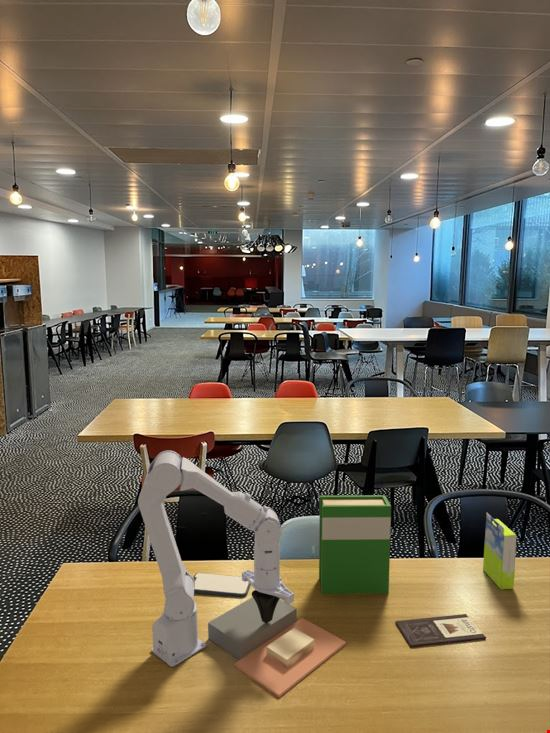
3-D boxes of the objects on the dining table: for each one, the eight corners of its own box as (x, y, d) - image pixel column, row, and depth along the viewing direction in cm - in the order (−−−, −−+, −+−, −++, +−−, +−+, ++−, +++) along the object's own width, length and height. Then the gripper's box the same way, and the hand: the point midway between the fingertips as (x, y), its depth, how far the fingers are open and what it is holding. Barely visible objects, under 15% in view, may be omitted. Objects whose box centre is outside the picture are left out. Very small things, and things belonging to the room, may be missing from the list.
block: (241, 661, 114) (241, 644, 114) (208, 638, 122) (208, 622, 121) (296, 623, 127) (296, 608, 127) (263, 605, 135) (263, 590, 134)
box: (514, 589, 142) (518, 527, 140) (499, 590, 142) (503, 528, 139) (495, 569, 152) (498, 511, 150) (481, 569, 152) (484, 511, 150)
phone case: (252, 582, 147) (195, 577, 149) (252, 576, 147) (195, 571, 149) (246, 600, 138) (186, 594, 141) (246, 595, 138) (186, 589, 140)
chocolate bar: (395, 621, 128) (466, 613, 130) (395, 624, 128) (465, 617, 130) (410, 645, 119) (485, 637, 122) (410, 649, 119) (485, 641, 122)
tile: (266, 646, 115) (266, 655, 116) (286, 659, 111) (286, 668, 111) (294, 627, 122) (294, 635, 122) (314, 639, 118) (314, 647, 118)
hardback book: (321, 593, 140) (322, 506, 137) (318, 578, 148) (319, 495, 144) (388, 593, 140) (391, 506, 137) (382, 578, 148) (384, 495, 144)
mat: (279, 697, 104) (279, 694, 104) (234, 666, 113) (234, 663, 113) (346, 644, 120) (346, 641, 120) (302, 620, 129) (302, 617, 129)
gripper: (303, 568, 117) (303, 626, 119) (256, 547, 127) (257, 600, 129) (281, 581, 112) (281, 641, 114) (234, 558, 122) (235, 613, 124)
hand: (267, 620), depth 121 cm, fingers closed
